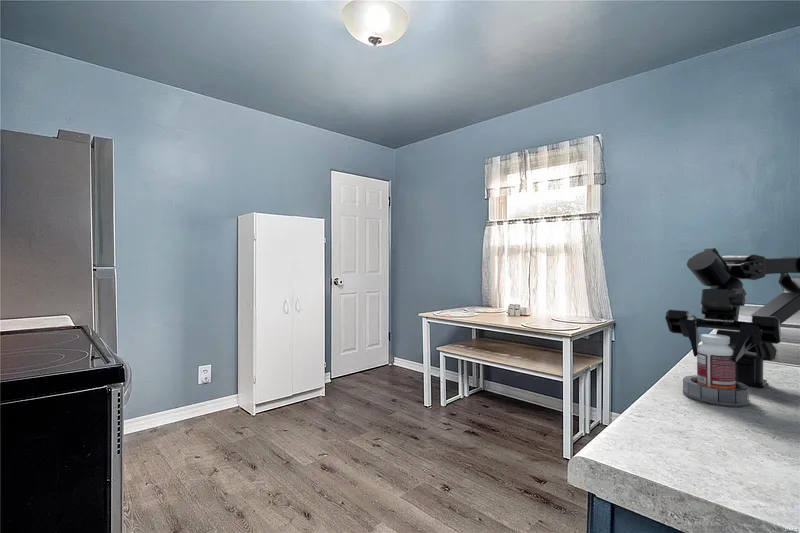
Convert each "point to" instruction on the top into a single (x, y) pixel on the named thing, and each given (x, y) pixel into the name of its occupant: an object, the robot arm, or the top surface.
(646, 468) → the top surface
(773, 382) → the top surface
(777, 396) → the top surface
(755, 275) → the robot arm
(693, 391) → the ring
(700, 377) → the pill bottle
